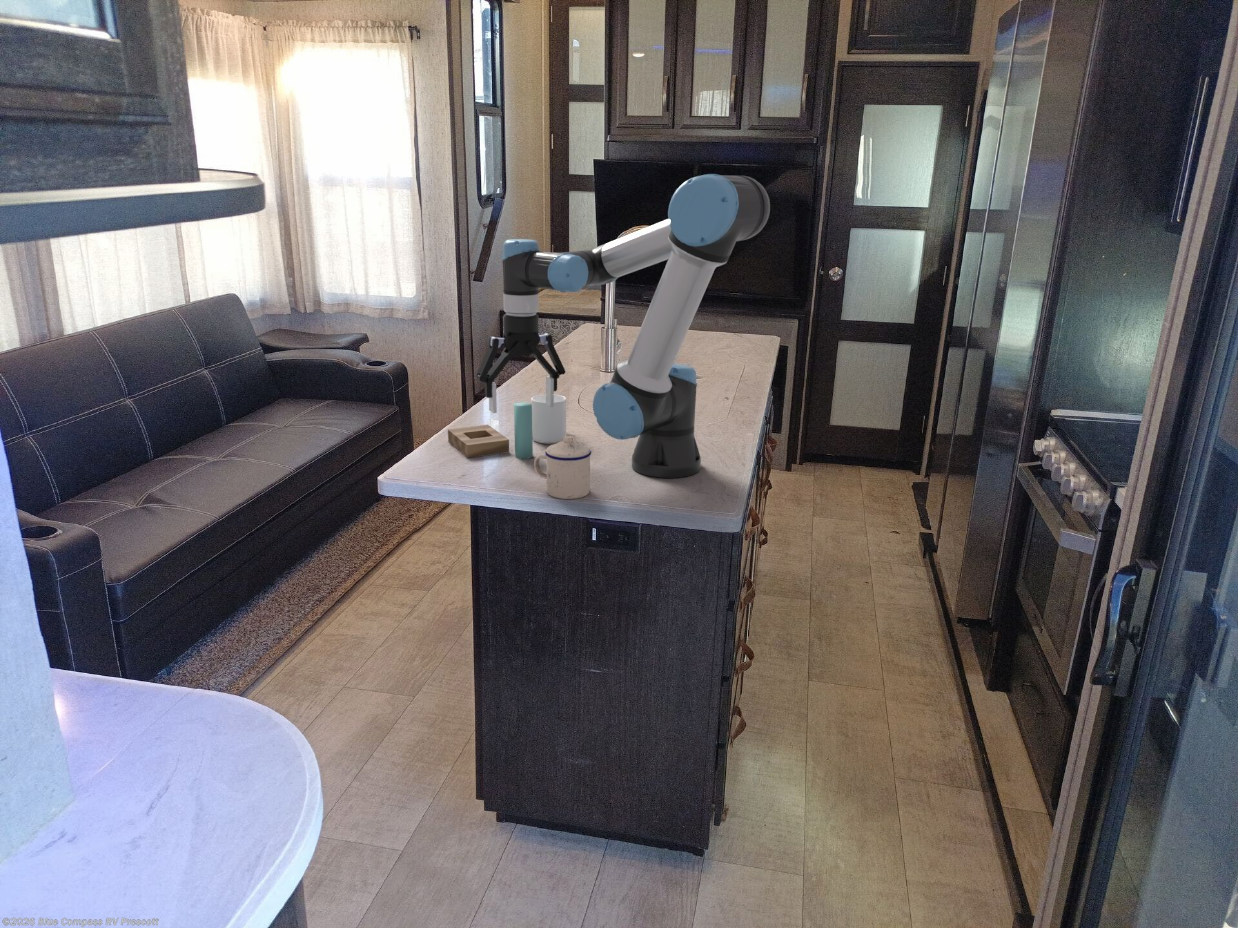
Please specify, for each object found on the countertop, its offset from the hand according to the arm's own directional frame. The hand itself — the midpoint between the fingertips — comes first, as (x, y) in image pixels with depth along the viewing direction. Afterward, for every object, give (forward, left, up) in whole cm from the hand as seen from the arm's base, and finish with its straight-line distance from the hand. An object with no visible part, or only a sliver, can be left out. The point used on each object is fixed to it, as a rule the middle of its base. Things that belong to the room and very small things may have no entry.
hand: (521, 408), depth 195 cm
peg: (0, 0, -11) cm, 11 cm away
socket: (+11, +7, -11) cm, 17 cm away
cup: (+11, -12, -11) cm, 20 cm away
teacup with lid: (-25, +2, -11) cm, 28 cm away
